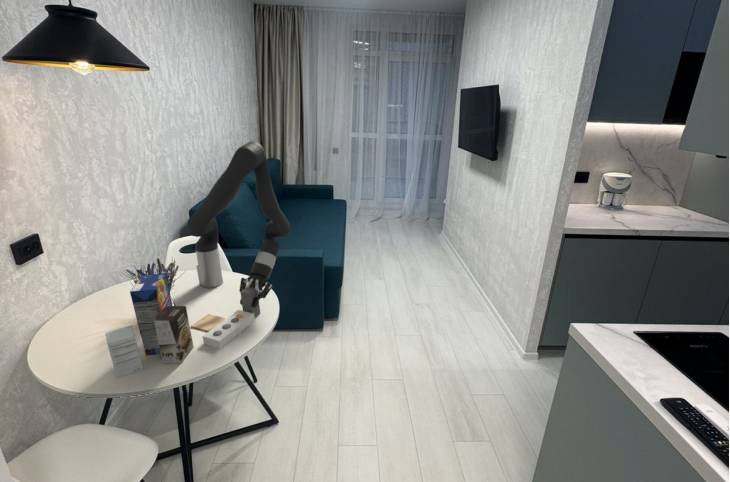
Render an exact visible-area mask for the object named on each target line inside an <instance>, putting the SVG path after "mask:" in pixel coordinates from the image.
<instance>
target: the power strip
mask: <svg viewBox="0 0 730 482" xmlns="http://www.w3.org/2000/svg"><path fill="white" fill-rule="evenodd" d="M255 318H256V317H254V314H253V313H249V312H245V311H243V310H241V309H240V310H239V309H237V310H236V311H234V312H233V313H232V314H231V315H230V316H229V317H227V318H226V319H225V320H224V321H223V322H221V323H220V324H219V325H217V326H216V327H214V328H213V329H212V330H210V331H209V332H206V333H205V334H203V335H202V342H203V344H204V345H206V346H207V345H208V346H210V347H214V348H218V349H222V348H224V347H225V346H226V345H227V344H228V343H230V342H231V341H232V340H233V339H234V338H236V337H237V336H238V335H239V334H241V333H242V332H243V331H245V330H246V329H247V328H248V327H249V326H251V325H252V324H253V323H254V322H255V321H256V320H255Z"/></svg>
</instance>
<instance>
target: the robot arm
mask: <svg viewBox="0 0 730 482" xmlns="http://www.w3.org/2000/svg"><path fill="white" fill-rule="evenodd" d="M251 172H253V174H254V177H255V182H256V183H255V184H256V195H257V200H258V201H257V202H258V205H259V206H260V210H261V212H262V215H263V216H264V217H265V219H269V220H270V221H268V222H267V223H266V225H265V227H264V230H263V232H264V233H263V239H262V245H261V247H260V250H259V251H258V253H257V255H256V258H255V261H254V262H253V264H252V267H251V270H250V275H249V276H248V277H246V278H245V277H242V278H241V279H240V285H239V293H240V292H241V291H242V290H244V289H245V288H247V287H252V288H255V289H256V294H255V297H254V299H253V302H252V304H251V307H253V308H255V307H256V306H257V305H258V302H259V303H260V300H261V299H266V297H267V296H268V294H269V293H270V291H271V290H272V288H273V285H272V284H271V283H270V282H268V280H269V279H270V277H271V274H272V272H273V269H274V266H275V263H276V260H277V257H278V254H279V252H280V248H281V245H280V243H278V242H277V241H276V240H277V238H280V239H282V238H287V237H288V236H289V235H290V234H291V224H290V222H289V220H288V219H287V217H286V216H285V214H284V212H283V211H282V210H281V208H280V205H279V203H278V202H279V201H278V199H277V197H276V193H275V191H274V187H273V184H272V179H271V176H270V175H271V174H270V170H269V166H268V160H267V154H266V151H265V149H264V147H263V146H262V145H261V144H260V143H259V142H257V141H248V142H246V143H245V144H243V145H241V146H240V147H238V148H237V149H236V151H235V152H234V154H233V156H232V157H231V160H230V162H229V163H228V166H227V168H226V169H225V170H224V172H223V173H222V174H221V175H220V177H219V178H218V179H217V180H216V182H215V183H214V184H213V186H212V188H211V189H210V190H209V193H208V194H207V195H206V197H205V198H204V200H203V201H202V203H201V204H200V206H199V207H198V208H197V209H196V211H195V212H194V213H193V214H192V215H191V216H190V217H189V218H188V219H187V223H186V230H187V232H188V233H189V235H190V236H192V237H196V238H198V240H197V241H196V242H195V244H194V246H195V247H194V248H195V254H196V261H197V265H196V272H197V277H198V282H199V283H198V284H199V286H202V287H203V288H205V289H210V288H215V287H216V288H217V287H219V286H220V285H221V286H222V284H223V283H224V280H223V279H224V278H223V272H222V265H221V258H220V253H219V245H218V243H219V240H220V238H219V229H218V222H217V219H216V217H217V216H218V215H219V214H221V213H223V211H224V210H225V209H227V208H228V207H229V206H230V205H231V204H232V203H233V201H234V200H235V199H236V197H237V196H238V195H239V192H240V188H241V185H242V183H243V181H245V178H247V177H248V175H249V174H250V173H251ZM239 304H240V305H241V306H242V300H241V299H240V300H239Z"/></svg>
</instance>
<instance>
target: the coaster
mask: <svg viewBox="0 0 730 482" xmlns="http://www.w3.org/2000/svg"><path fill="white" fill-rule="evenodd" d="M225 319H227V318H225V317H222V316H217V315H214V314H210V313H208V314H207V315H204V316H203V317H201V318H200V319H199V320H198V321H196V322H194V323H192V325H190V328H194V329H196V330H200V331H204V332H206V333H208V332H209V331H210V330H212V329H213V328H214V327H216V326H217V325H219V324H220V323H221V322H223V321H224V320H225Z"/></svg>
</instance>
